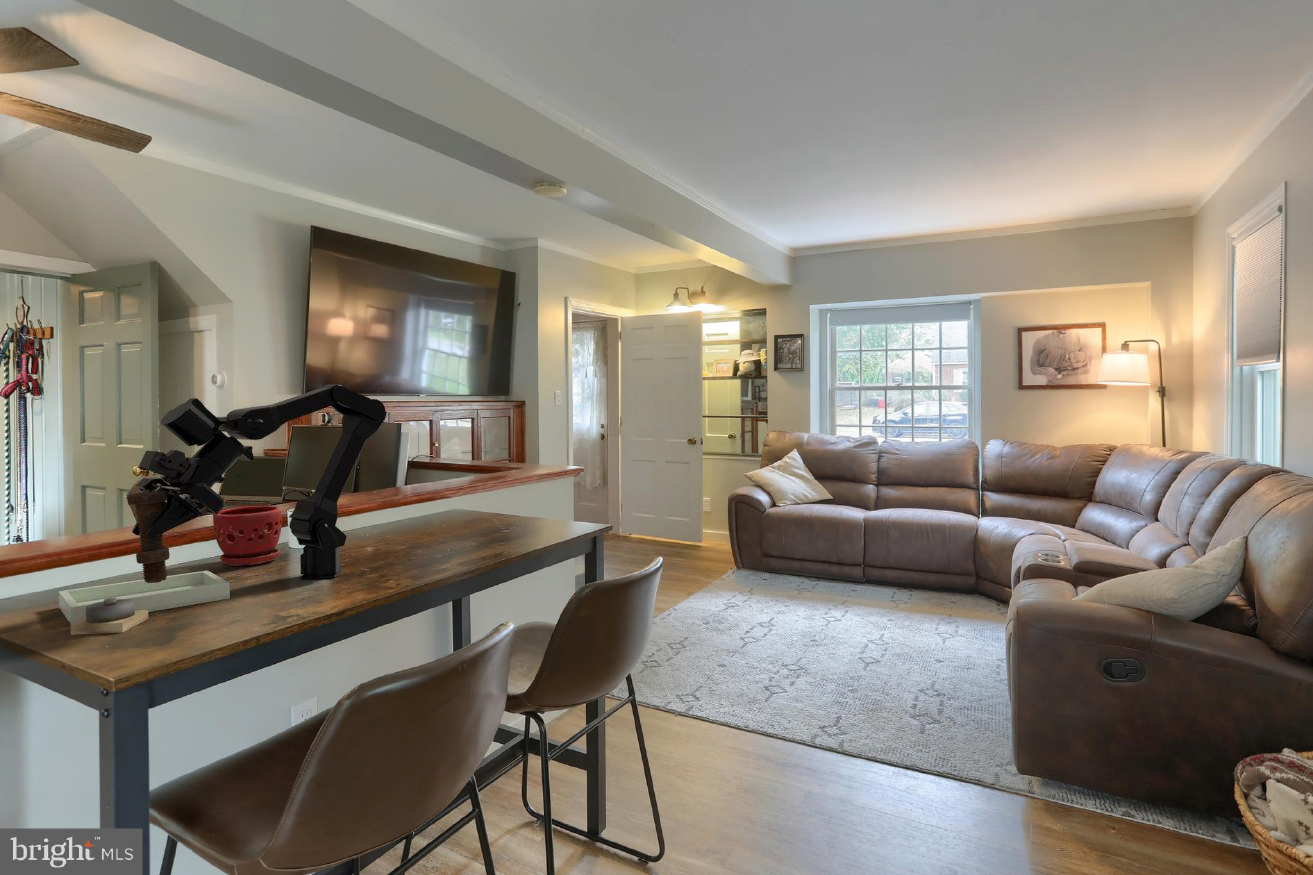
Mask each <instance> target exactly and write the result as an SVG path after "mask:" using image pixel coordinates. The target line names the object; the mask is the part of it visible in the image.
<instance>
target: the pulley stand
mask: <svg viewBox="0 0 1313 875" xmlns="http://www.w3.org/2000/svg"><path fill="white" fill-rule="evenodd" d="M147 620H149V612H148V610H135V601H134V600H130V599H118V600H117V598H109V599H105V600H104V601H103V602H98V603H94V604H91V605H88V606H87V607H86V618H85V619H83V620H80V621H78V622H76V623H74V624H72V625H71V624H70V635H73V636H75V635H93V634H95V635H97V634H99V635H100V634H118V633H120V634H121V633H125V632H126V631H128V630H131V629H132V628H134V627H136V626H138V625H140V624H141V623H143V622H145V621H147Z"/></svg>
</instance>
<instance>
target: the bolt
mask: <svg viewBox="0 0 1313 875" xmlns="http://www.w3.org/2000/svg"><path fill="white" fill-rule="evenodd" d="M166 500H167V495H166V491H153V492H136V493H130V494H128V495H127V505H128V506H130V505H132V506H133V505H134V506H135V514H136V516H137V521H138V520H139V521H138V522H139V523H138V524H140V525H138V526H140V527H138V528H140V529H139V530H140V531H139V532H140V533H139V534H140V535H138V537H139V542H140V543H139V544H140V545H139V546H140V550H137V551H136V554H135V558H136V563H137V564H140V565H141V564H142V574H143V578H142V579H143V580H145V582H147V583H158V582H161V581H162V580H166V577H167V576H168V574H167V564H166V561H167V560H169V559H170V554H171V553H170V548H169V547H168V546H165V545H164V539H163V538H164V535H163V534H164V533H162V534H160V535H158V536H156V537H154V538H149V537H148V536H146V533H147V532H148V530H149V529H150V527H151V526H152V524H153V523H154V522H155V520H156V519H157V518H158V516H159V515H160V514H161V503H160V502H162V501H166Z"/></svg>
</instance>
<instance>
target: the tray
mask: <svg viewBox="0 0 1313 875" xmlns="http://www.w3.org/2000/svg"><path fill="white" fill-rule="evenodd" d="M166 576H167V577H166V580H162V581H161V582H158V583H147V582H145V580H144V579H138V580H130V581H123V582H118V583H117V582H116V583H110V584H108V583H107V584H102V585H96V586H95V585H94V586H87V587H82V588H75V589H74V588H73V589H65V590H58V608H59V609H61V610H60V611H61V613H62V614H63V616H64V617H65V619H66V620H67V621H68V623H69V622H70V623H69V624H70V626H71V625H72V624H74V623H76V622H78V621H80V620H83V619H85V618H86V607H87V606H88V605H91V604H94V603H98V602H103V601H104V600H105V599H109V598H117V600H118V599H130V600H134V601H135V610H148V613H151V612H157V611H162V610H168V609H174V608H181V607H186V606H193V605H197V604H204V603H210V602H217V601H222V600H226V599H227V600H229V599H231V596H230V592H231V590H230V584H231V583H230V582H229V581H227V580H225V579H223V578H222V577H220V576H218V575H216V574H214V573H212V572H211V571H210V570H202V571H195V572H194V571H193V572H189V573H181V574H174V575H166Z"/></svg>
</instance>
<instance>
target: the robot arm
mask: <svg viewBox="0 0 1313 875" xmlns="http://www.w3.org/2000/svg"><path fill="white" fill-rule="evenodd" d="M329 407H331V408H332V409H333V410H334V411H335V412H337V413H339V414H340V415H342V418H341V428H342V429H341V430H342V433H341V435H340V437H339V440H338V442H337V443H336V446H335V447H334V450H333V453H332V455H331V456H330V458H329V460H328V462H327V465H326V467H325V469H324V471H323V473H322V475H321V477H320V480H319V481H318V483H317V486H316V487H315V490H314V492H313V494H312V495H311V496H309V497H308V498H307V499H303V498H301V499H300V498H299V499H298V500H297V502H296V503H295V507H294V509H293V511H292V512H291V514H290V515H289V516H288V518H289V519H290V521H289V523H288V524H289V525H288V528H289V529H290V532H291V534H292V535H293V536H294V537H295V538H296V540H297V543H298V545H299V546H304V547H303V548H302V553H300V556H299V558H300V559H299V560H300V562H299V563H300V564H299V565H300V575H301V576H300V580H305V579H307V580H309V579H310V580H311V579H333V578H336V577H337V576H339V575H340V574H341V573H342V572H343V568H341V557H340V556H341V549H340V547H344V546H345V544H346V540H347V535H346V534H345V533H344V532H343V531H342V530H341V529H340V528H339V527H338V526H336V525H337V522H338V521H337V520H338V518H339V511H338V510H339V509H338V503H339V500H340V497H341V495H342V492H343V490H344V488H345V486H346V484H347V482H348V480H349V478H350V476H351V473H352V471H353V470H354V467H355V465H356V462H357V460H358V459H359V456H360V454H361V452H362V450H363V447H364V445H365V443H366V441H368V440H369V439H370V438H371V437H372V436H374V435H375V433H377V432H378V431H379V429H380V428H381V427H382V425H383V423H384V421H385V420H386V418H387V412H388V411H387V410H386V407H385V404H384V403H383V402H382V401H381V400H379V399H377V398H370V397H368V396H365V395H363V394H362V393H358V392H356V391H353V390H350V389H349V388H347V387H345V386H343V385H341V384H338V383H337V384H325V385H322V387H319V388H316V389H314V390H311V391H308V392H304V393H301V394H298V395H296V396H293V397H289V398H287V399H284V400H281V401H279V402H275V403H273V404H267V405H258V406H250V407H244V408H237V409H233V410H231V411H229V412H228V413H227V414H226V416H216V415H214V413H212V412H211V411H210V410H209V409H208V408H207V407H206V406H205V405H204V403H203V402H202V401H201V400H200V399H198V398H197V397H192V398H191V397H190V398H188V400H187V401H186V402H183V403H181V404H180V405H179V404H178V406H176V407H174V408H173V409H170V410H168V411H167V412H166V413H165V415H163V417H162V418H161V419H160V425H161V426H163V427H164V428H165V429H167V430H168V431H169V432H170V433H171V434H172V435H174V436H175V437H176V438H177V439H178V440H179V441H181V442H182V443H183V444H185V446H187V447H193V446H195V445H196V447H200V448H199V449H198V450H197V451H196V452H195V453H194V455H192V456H186V453H185V452H183V451H180V450H177V449H171V450H169V451H167V452H166V453H165V452H163V451H156V450H145V452H144V454H143V457H142V458H141V461H140V462H139V464H138V467H137V468H138V469H139V470H142V471H149V472H152V473H156V474H158V475H161V477H160V478H159V477H150V476H149V477H143V478H141V479H140V481H138V482H137V484H136V485H135V486H134V487H135V489H137V490H138V491H140V493H142V492H153V491H166V495H167V500H166V501H162V502H160V503H161V514H160V515H159V516H158V518H157V519H156V520H155V522H154V523H153V524H152V526H151V527H150V529H149V530H148V532H147V533H146V536H148V537H149V538H154V537H156V536H158V535H160V534H162V533H163V534H164V533H166V532H168V531H170V530H173V529H174V528H177V527H178V526H179V527H180V526H181V525H184V524H186V523H188V522H190V521H193V520H195V519H197V518H202V517H203V516H204V514H203V513H202V512H201V511H202V510H203V509H204V508H206V509H205V513H206V514H208V515H212V516H213V515H217V514H218V513H219V512H220V511H221V510H223V509H224V508H225V499H224V498H223V497H222V496H221V495H220V494H218V493H217V492H216V491H215V490H214V489H212V487H214V485H215V484H222V483H223V482H224V481H225V480H226V478H225V477H223V476H224V475H225V473H226V472H228V470H229V469H230V468H231V467H232V466H233V465H234V464H235V463H236V462H237V461H238V460H240V461H247V462H248V461H249V462H251V461H253V462H254V460H255V459H254V458H255V456H254V453H253V446H252V445H244V444H243V443H242V442H241V441H242V440H245V441H247V440H249V441H259V440H262V439H264V438H267V437H268V436H270V435H271V434H273V433H275V432H277V431H278V430H279V429H280V428H281V427H283V425H285V424H287V423H289V422H291V421H294V420H297V419H300V418H303V417H305V416H308V415H310V414H313V413H316V412H318V411H320V410H324V409H326V408H329ZM225 433H227V435H226V434H225ZM239 440H241V441H239ZM138 521H139V520H138V519H137V521H136V522H135V525H134V527H133V528H132V530H131V533H132V534H134V535H135V536H136V537H137V536H138V537H139V535H140V534H139V533H140V532H139V531H140V530H139V529H140V528H138V527H140V526H138V525H140V524H138V523H139V522H138ZM163 534H162V535H163Z"/></svg>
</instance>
